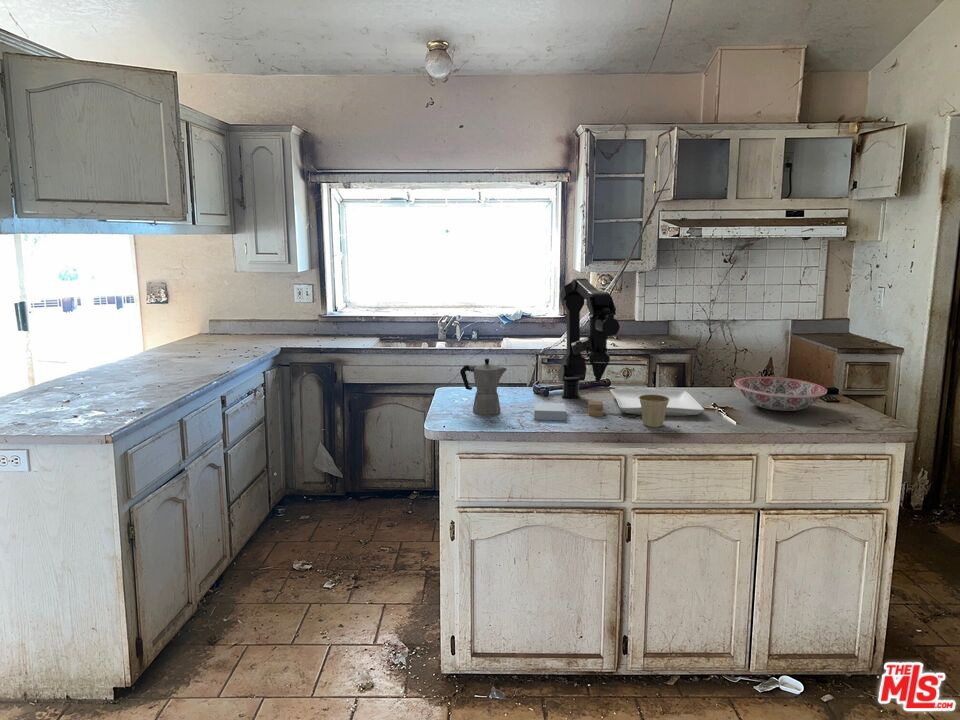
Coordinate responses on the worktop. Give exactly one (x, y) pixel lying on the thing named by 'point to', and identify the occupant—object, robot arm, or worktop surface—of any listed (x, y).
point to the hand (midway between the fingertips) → (596, 378)
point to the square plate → (679, 400)
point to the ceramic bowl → (780, 392)
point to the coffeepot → (484, 387)
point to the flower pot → (653, 409)
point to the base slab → (550, 411)
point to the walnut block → (595, 408)
